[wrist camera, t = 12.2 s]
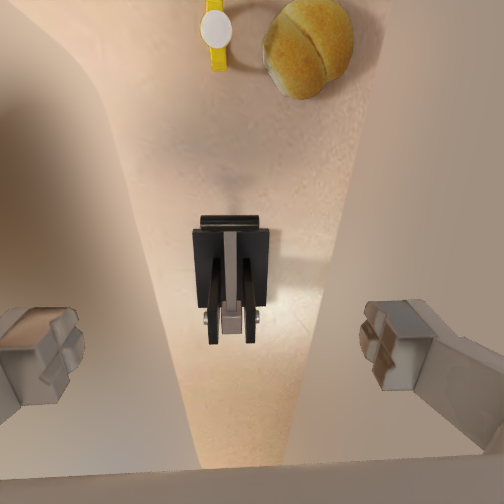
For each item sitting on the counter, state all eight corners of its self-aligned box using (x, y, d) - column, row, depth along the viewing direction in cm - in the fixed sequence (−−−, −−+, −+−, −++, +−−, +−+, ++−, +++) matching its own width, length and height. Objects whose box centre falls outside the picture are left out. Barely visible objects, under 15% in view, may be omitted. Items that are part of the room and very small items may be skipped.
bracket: (193, 229, 41) (178, 280, 29) (268, 228, 41) (282, 278, 30) (198, 303, 46) (188, 371, 35) (265, 301, 47) (276, 368, 35)
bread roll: (360, 57, 33) (376, 52, 29) (290, 111, 35) (297, 113, 31) (322, -25, 30) (335, -41, 26) (247, 40, 32) (250, 33, 28)
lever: (201, 209, 27) (199, 223, 25) (257, 209, 28) (259, 223, 26) (210, 318, 36) (209, 335, 34) (253, 317, 36) (254, 333, 34)
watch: (201, 2, 30) (195, -18, 25) (230, 1, 30) (229, -19, 25) (207, 73, 33) (203, 68, 27) (233, 72, 33) (234, 67, 28)
